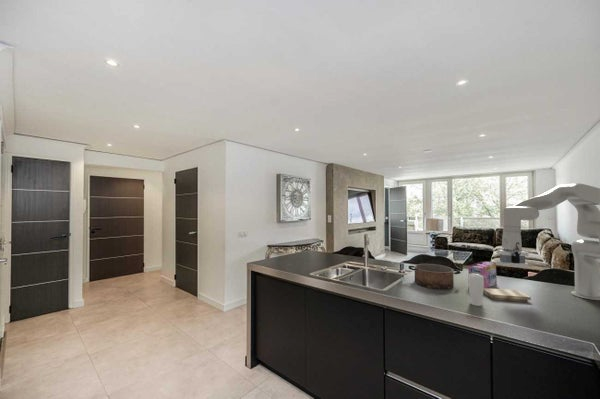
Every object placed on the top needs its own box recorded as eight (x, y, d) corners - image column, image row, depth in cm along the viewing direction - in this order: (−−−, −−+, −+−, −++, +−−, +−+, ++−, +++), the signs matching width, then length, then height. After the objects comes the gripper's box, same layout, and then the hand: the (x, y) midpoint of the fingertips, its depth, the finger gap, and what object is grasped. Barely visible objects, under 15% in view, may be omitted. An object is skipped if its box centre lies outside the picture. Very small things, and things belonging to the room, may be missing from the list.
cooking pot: (457, 282, 170) (456, 266, 170) (464, 293, 149) (464, 274, 150) (408, 277, 181) (408, 262, 182) (408, 286, 161) (408, 269, 161)
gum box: (483, 280, 173) (483, 260, 173) (497, 283, 166) (497, 262, 167) (468, 287, 159) (467, 265, 160) (482, 290, 153) (482, 268, 153)
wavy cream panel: (518, 295, 145) (517, 290, 145) (530, 302, 134) (530, 297, 134) (482, 293, 149) (482, 287, 149) (491, 300, 138) (491, 294, 138)
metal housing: (496, 263, 145) (496, 249, 145) (520, 264, 143) (520, 250, 143) (503, 266, 139) (503, 251, 139) (528, 267, 137) (528, 252, 137)
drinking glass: (479, 308, 127) (479, 277, 128) (465, 303, 133) (465, 274, 134) (487, 305, 131) (486, 276, 131) (472, 301, 137) (472, 273, 137)
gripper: (495, 227, 150) (495, 258, 150) (513, 230, 133) (513, 265, 133) (510, 228, 149) (510, 259, 148) (530, 231, 132) (530, 265, 132)
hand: (512, 261), depth 141 cm, fingers closed on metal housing, 6 cm apart
